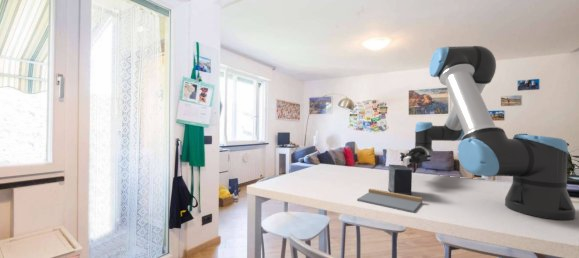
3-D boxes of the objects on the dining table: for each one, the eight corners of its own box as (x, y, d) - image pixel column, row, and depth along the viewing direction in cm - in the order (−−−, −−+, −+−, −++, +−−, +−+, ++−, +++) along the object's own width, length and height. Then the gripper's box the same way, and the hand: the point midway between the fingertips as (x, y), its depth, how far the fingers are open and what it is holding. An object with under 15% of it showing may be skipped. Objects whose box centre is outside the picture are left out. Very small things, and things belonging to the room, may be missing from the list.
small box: (412, 198, 87) (413, 169, 87) (393, 197, 89) (393, 169, 88) (405, 190, 98) (405, 164, 97) (387, 189, 99) (388, 164, 99)
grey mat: (422, 203, 82) (422, 197, 82) (413, 212, 74) (413, 206, 74) (370, 193, 94) (370, 188, 94) (357, 200, 85) (357, 195, 85)
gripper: (434, 164, 113) (422, 173, 95) (404, 161, 122) (388, 168, 104) (434, 148, 113) (423, 153, 95) (404, 146, 121) (388, 151, 103)
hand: (405, 161), depth 99 cm, fingers closed
